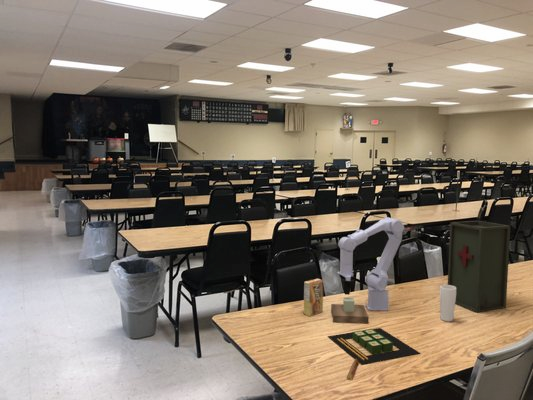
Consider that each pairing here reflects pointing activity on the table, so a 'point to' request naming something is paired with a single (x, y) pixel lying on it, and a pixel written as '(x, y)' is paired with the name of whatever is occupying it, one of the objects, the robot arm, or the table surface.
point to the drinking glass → (447, 302)
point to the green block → (348, 304)
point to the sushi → (373, 345)
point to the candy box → (313, 297)
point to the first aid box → (479, 264)
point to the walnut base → (349, 314)
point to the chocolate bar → (353, 370)
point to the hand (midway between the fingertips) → (345, 291)
